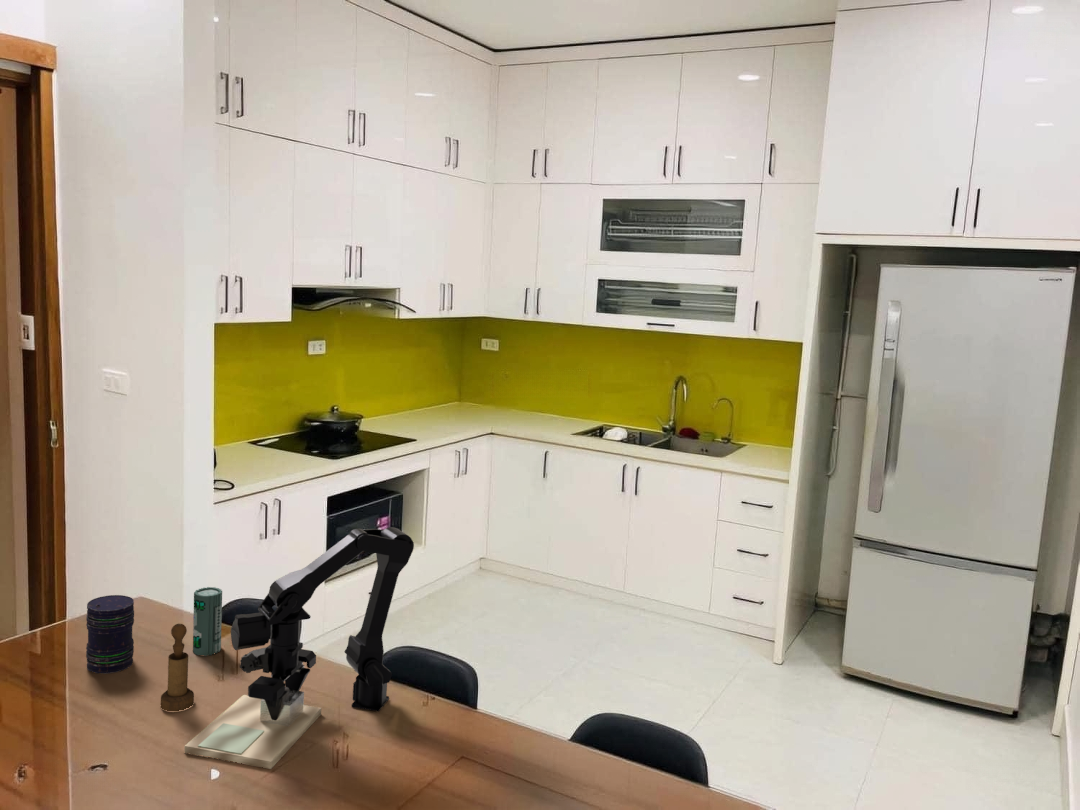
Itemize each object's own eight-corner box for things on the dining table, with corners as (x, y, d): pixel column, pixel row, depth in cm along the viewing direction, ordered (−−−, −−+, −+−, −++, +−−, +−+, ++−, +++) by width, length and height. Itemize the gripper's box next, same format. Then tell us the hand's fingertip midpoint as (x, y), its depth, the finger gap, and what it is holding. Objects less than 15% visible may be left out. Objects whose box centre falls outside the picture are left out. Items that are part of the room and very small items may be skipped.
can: (197, 644, 213) (198, 586, 211) (223, 645, 214) (224, 587, 212) (190, 655, 207) (191, 595, 205) (216, 656, 208) (217, 596, 206)
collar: (303, 711, 182) (304, 691, 181) (289, 726, 176) (289, 705, 175) (275, 707, 183) (275, 687, 182) (260, 721, 177) (260, 700, 176)
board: (321, 714, 184) (322, 681, 183) (270, 769, 163) (272, 731, 162) (243, 701, 187) (244, 668, 186) (184, 753, 166) (185, 716, 165)
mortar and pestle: (181, 715, 180) (183, 633, 177) (153, 709, 181) (155, 628, 179) (200, 700, 186) (201, 621, 184) (173, 695, 188) (174, 616, 185)
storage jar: (119, 651, 207) (120, 591, 205) (142, 664, 201) (143, 603, 199) (77, 664, 198) (77, 602, 196) (99, 678, 193) (100, 614, 191)
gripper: (270, 618, 188) (268, 686, 190) (224, 653, 169) (222, 727, 172) (318, 626, 186) (315, 694, 188) (276, 661, 167) (274, 736, 170)
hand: (282, 712), depth 179 cm, fingers closed on collar, 6 cm apart
